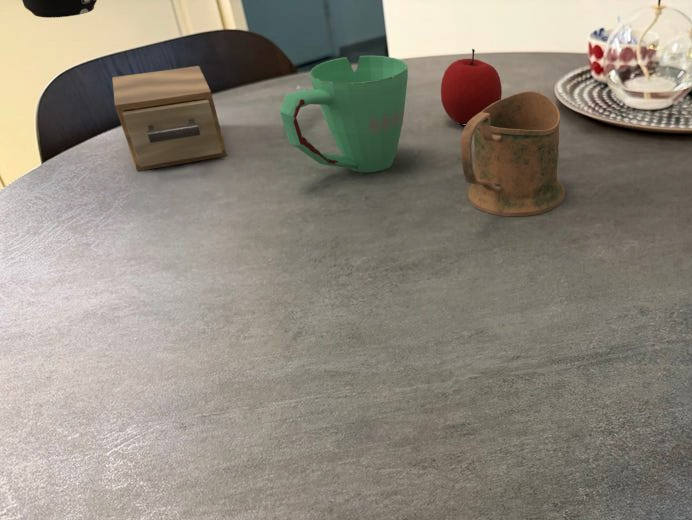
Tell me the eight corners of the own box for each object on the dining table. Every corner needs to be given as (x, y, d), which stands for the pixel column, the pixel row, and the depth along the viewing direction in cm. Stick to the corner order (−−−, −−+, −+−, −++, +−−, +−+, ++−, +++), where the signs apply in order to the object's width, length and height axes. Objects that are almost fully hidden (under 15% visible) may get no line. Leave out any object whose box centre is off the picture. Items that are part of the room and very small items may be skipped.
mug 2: (423, 226, 77) (414, 118, 70) (494, 169, 90) (493, 71, 82) (517, 248, 73) (518, 134, 66) (579, 184, 85) (585, 82, 78)
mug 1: (374, 140, 99) (363, 50, 91) (434, 160, 92) (427, 65, 85) (270, 181, 88) (248, 83, 81) (329, 206, 82) (312, 102, 75)
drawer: (226, 163, 91) (213, 111, 87) (142, 178, 88) (123, 124, 84) (210, 124, 103) (198, 76, 99) (135, 136, 100) (119, 87, 96)
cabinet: (227, 155, 96) (210, 91, 90) (137, 171, 92) (114, 105, 87) (214, 125, 106) (198, 65, 100) (132, 138, 102) (112, 77, 97)
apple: (431, 117, 106) (427, 47, 100) (484, 107, 109) (483, 38, 103) (457, 136, 99) (454, 62, 93) (513, 124, 102) (513, 52, 96)
